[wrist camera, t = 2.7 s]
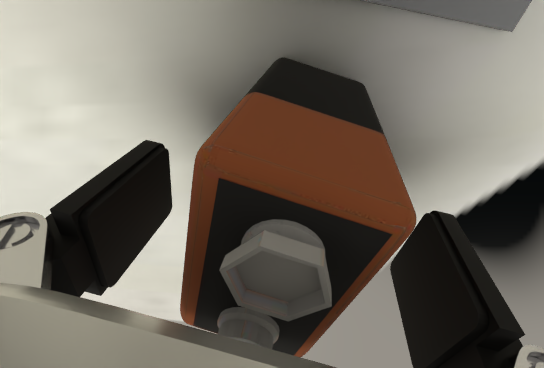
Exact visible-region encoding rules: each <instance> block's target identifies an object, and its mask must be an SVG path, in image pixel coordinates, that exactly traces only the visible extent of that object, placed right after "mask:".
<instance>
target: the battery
mask: <svg viewBox="0 0 544 368" xmlns="http://www.w3.org/2000/svg"><path fill="white" fill-rule="evenodd" d="M415 225H416V214H415V211H414V208H413V205H412V202H411V200H410V197H409V195H408V192H407V190H406V187H405V185H404V182H403V180H402V178H401V175H400V173H399V170H398V168H397V165H396V163H395V160H394V158H393V155H392V153H391V150H390V148H389V145H388V143H387V140H386V138H385V135H384V133H383V130H382V128H381V125H380V123H379V120H378V118H377V115H376V113H375V110H374V108H373V105H372V103H371V101H370V98H369V96H368V93H367V91H366V88H365V86H364V85H363V84H362V83H359V82H357V81H354V80H351V79H348V78H345V77H342V76H339V75H336V74H333V73H330V72H327V71H324V70H321V69H318V68H315V67H312V66H309V65H306V64H303V63H300V62H297V61H293V60H290V59H287V58H280V59H278V60H276V61H275V62H274V63H273V64H272V66H271V67H270V68H269V69H268V70H267V71H266V73H265V74H264V75H263V76H262V77H261V78H260V79H259V81H258V82H257V83H256V84H255V85H254V86H253V87H252V89H251V90H250V91H249V92H248V93H247V94H246V96H245V97H244V98H243V99H242V100H241V101H240V102H239V104H238V105H237V106H236V107H235V108H234V109H233V111H232V112H231V113H230V114H229V115H228V116H227V117H226V119H225V120H224V121H223V122H222V123H221V124H220V125H219V127H218V128H217V129H216V130H215V131H214V132H213V134H212V135H211V136H210V137H209V138H208V139H207V140H206V142H205V143H204V144H203V145H202V146H201V148H200V149H199V151H198V152H197V155H196V158H195V164H194V172H193V181H192V191H191V201H190V211H189V222H188V232H187V242H186V252H185V262H184V272H183V283H182V293H181V304H180V311H181V316H182V319H183V320H184V322H186V323H187V324H190V325H193V326H195V327H198V328H201V329H204V330H208V331H211V332H214V333H217V334H218V335H222V336H225V337H229V338H232V339H236V340H239V341H243V342H247V343H250V344H254V345H257V346H261V347H265V348H268V349H272V350H275V351H279V352H282V353H286V354H290V355H293V356H297V357H302V356H303V355H304V354H306V352H308V351H309V350H310V348H311V347H312V346H313V345H314V344H315V343H316V342H317V340H318V339H319V338H320V337H321V336H322V335H323V334H324V333H325V331H326V330H327V329H328V328H329V327H330V326H331V325H332V323H333V322H334V321H335V320H336V319H337V318H338V317H339V315H340V314H341V313H342V312H343V311H344V310H345V309H346V307H347V306H348V305H349V304H350V303H351V302H352V301H353V299H354V298H355V297H356V296H357V295H358V293H360V291H361V290H362V289H363V288H364V287H365V286H366V285H367V284H368V282H369V281H370V280H371V279H372V278H373V277H374V275H375V274H376V273H377V272H378V271H379V270H380V269H381V268H382V267H383V265H384V264H385V263H386V262H387V261H388V260H389V259H390V257H391V256H392V255H393V254H394V253H395V252H396V251H397V249H398V248H399V247H400V246H401V245H402V244H403V242H404V241H405V240H406V239H407V238H408V236H409V235H410V234H411V233H412V231H413V229H414V228H415Z"/></svg>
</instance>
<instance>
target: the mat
mask: <svg viewBox="0 0 544 368" xmlns="http://www.w3.org/2000/svg"><path fill="white" fill-rule="evenodd" d="M361 1H366V2H371V3H376V4H381V5H385V6H390V7H395V8H400V9H405V10H409V11H414V12H419V13H424V14H429V15H433V16H438V17H443V18H448V19H453V20H457V21H462V22H467V23H472V24H477V25H481V26H486V27H491V28H496V29H501V30H505V31H511V32H512V31H513V30H514V28H515V27H516V25H517V23H518V22H519V20H520V19H521V17H522V15H523V14H524V12H525V11H526V9H527V7H528V6H529V4H530V3H531V1H532V0H361Z"/></svg>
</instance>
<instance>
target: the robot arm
mask: <svg viewBox="0 0 544 368" xmlns="http://www.w3.org/2000/svg"><path fill="white" fill-rule="evenodd" d="M171 209H172V195H171V180H170V165H169V152H168V150H167V149H165V147H164V145H163V144H161V143H157V142H153V141H149V140H145V141H143V142H142V143H141V144H139V145H138V146H137V147H135V148H134V149H132V150H131V151H130V152H128V153H127V154H125V155H124V156H123V157H121V158H120V159H119V160H117V161H116V162H114V163H113V164H112V165H110V166H109V167H108V168H106V169H105V170H103V171H102V172H101V173H99V174H98V175H96V176H95V177H94V178H92V179H91V180H90V181H88V182H87V183H85V184H84V185H83V186H81V187H80V188H79V189H77V190H76V191H74V192H73V193H72V194H70V195H69V196H67V197H66V198H65V199H63V200H62V201H61V202H59V203H58V204H56V205H55V206H54V207H52V208H51V209H50V211H51V213H52V214H50V215H49V216H47V217H46V218H44V217H43V216H42V215H40V214H37V213H31V212H21V213H13V214H9V215H5V216H2V217H0V368H336V367H332V366H329V365H325V364H322V363H318V362H315V361H311V360H307V359H304V358H300V357H297V356H293V355H290V354H286V353H282V352H279V351H275V350H272V349H268V348H265V347H261V346H257V345H254V344H250V343H247V342H243V341H239V340H236V339H232V338H229V337H225V336H222V335H218V334H214V333H211V332H207V331H203V330H200V329H196V328H192V327H189V326H185V325H182V324H178V323H174V322H171V321H167V320H163V319H160V318H156V317H152V316H149V315H145V314H141V313H138V312H134V311H130V310H127V309H123V308H119V307H116V306H112V305H108V304H104V303H100V302H96V301H92V300H88V299H84V298H80V296H81V295H82V294H83V293H84V292H89V293H92V294H96V295H100V296H101V295H102V294H103V293H104V291H105V290H106V289H107V288H108V287H112V286H114V285H115V284H116V283H117V281H118V280H119V279H120V277H121V276H122V275H123V273H124V272H125V271H126V270H127V268H128V267H129V266H130V264H131V263H132V262H133V260H134V259H135V258H136V257H137V255H138V254H139V253H140V251H141V250H142V249H143V248H144V246H145V245H146V244H147V242H148V241H149V240H150V238H151V237H152V236H153V235H154V233H155V232H156V231H157V229H158V228H159V227H160V226H161V224H162V223H163V222H164V220H165V219H166V218H167V216H168V215H169V214H170V212H171ZM390 270H391V275H392V279H393V284H394V288H395V292H396V297H397V301H398V305H399V310H400V313H401V318H402V322H403V327H404V331H405V335H406V339H407V344H408V348H409V352H410V357H411V361H412V365H413V368H544V348H541V347H539V346H534V345H526V346H522V344H521V342H520V340H519V338H521V337H522V336H524V335H525V334H524V332H523V330H522V329H521V327H520V325H519V324H518V322H517V320H516V319H515V317H514V315H513V314H512V312H511V310H510V309H509V307H508V305H507V304H506V302H505V300H504V298H503V297H502V295H501V293H500V292H499V290H498V288H497V287H496V286H495V283H494V282H493V280H492V278H491V277H490V275H489V273H488V272H487V270H486V269H485V267H484V265H483V263H482V262H481V260H480V258H479V257H478V255H477V253H476V252H475V250H474V248H473V247H472V245H471V243H470V242H469V240H468V238H467V237H466V235H465V233H464V232H463V230H462V228H461V227H460V225H459V223H458V222H457V220H456V218H455V217H454V216H453V215H451V214H447V213H443V212H439V211H432V212H430V213H426V214H425V215H424V216H423V217H422V219H421V220H420V222H419V223H418V225H417V226H416V227H415V229H414V230H413V232H412V233H411V235H410V236H409V238H408V239H407V241H406V242H405V244H404V245H403V246H402V248H401V249H400V251H399V252H398V254H397V255H396V257H395V258H394V260H393V261H392V263H391V269H390Z"/></svg>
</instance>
